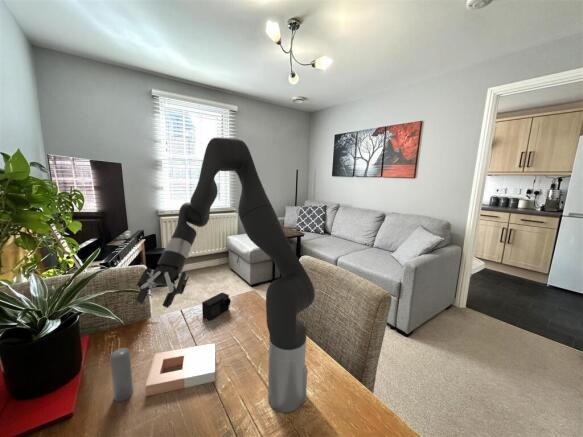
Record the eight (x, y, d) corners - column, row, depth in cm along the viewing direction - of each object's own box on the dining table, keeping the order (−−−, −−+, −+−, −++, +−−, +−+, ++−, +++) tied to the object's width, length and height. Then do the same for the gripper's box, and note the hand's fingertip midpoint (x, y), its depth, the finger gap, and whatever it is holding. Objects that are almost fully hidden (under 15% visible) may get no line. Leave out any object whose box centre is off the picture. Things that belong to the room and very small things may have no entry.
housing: (214, 351, 79) (214, 343, 78) (215, 381, 68) (215, 371, 67) (155, 362, 74) (155, 353, 73) (146, 396, 62) (145, 386, 62)
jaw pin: (135, 386, 65) (131, 346, 63) (130, 399, 61) (126, 357, 59) (117, 390, 64) (113, 349, 62) (111, 403, 60) (107, 360, 58)
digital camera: (211, 322, 94) (211, 306, 93) (202, 318, 97) (201, 302, 96) (231, 310, 103) (231, 295, 102) (222, 306, 106) (221, 292, 105)
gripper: (149, 247, 78) (122, 297, 69) (190, 251, 76) (167, 304, 67) (162, 257, 84) (138, 305, 75) (200, 262, 82) (180, 311, 73)
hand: (152, 304), depth 71 cm, fingers open, 8 cm apart
